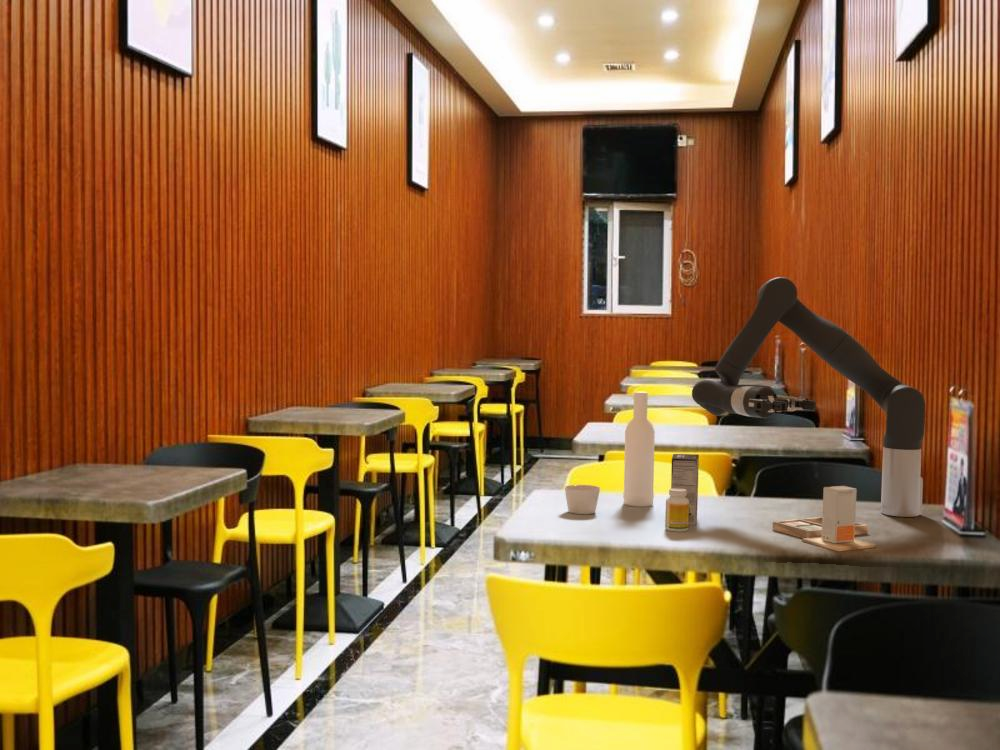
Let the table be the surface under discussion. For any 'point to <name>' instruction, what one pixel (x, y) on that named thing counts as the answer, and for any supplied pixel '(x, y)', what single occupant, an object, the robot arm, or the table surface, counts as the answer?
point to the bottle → (639, 456)
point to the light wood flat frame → (809, 527)
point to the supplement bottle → (677, 510)
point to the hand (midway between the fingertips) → (800, 406)
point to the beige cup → (582, 498)
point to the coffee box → (687, 480)
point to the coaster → (839, 544)
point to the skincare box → (838, 514)
